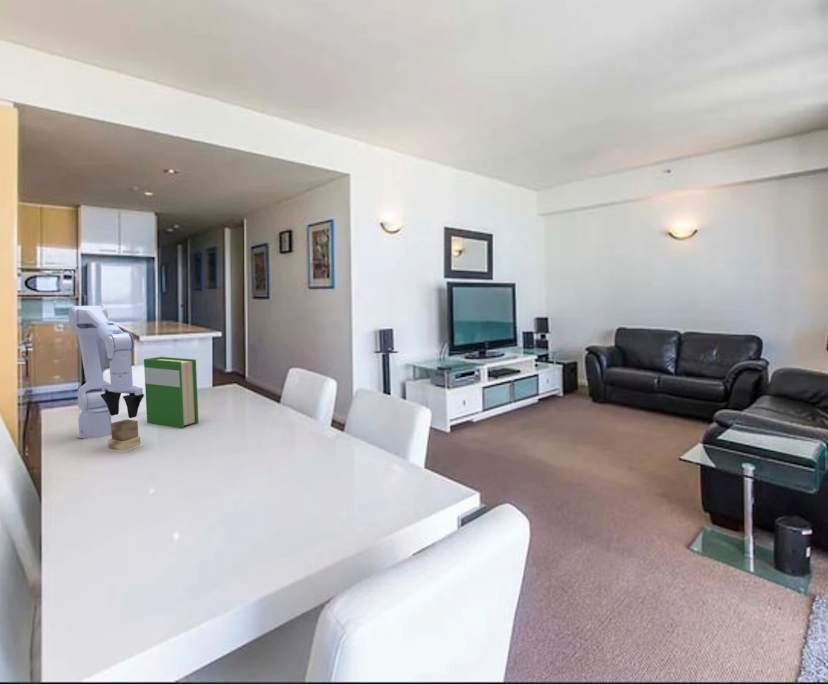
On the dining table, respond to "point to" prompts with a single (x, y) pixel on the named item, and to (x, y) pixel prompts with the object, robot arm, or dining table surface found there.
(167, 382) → the hardback book
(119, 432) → the walnut cube
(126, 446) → the oak block
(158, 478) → the dining table surface
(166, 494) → the dining table surface
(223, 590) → the dining table surface
